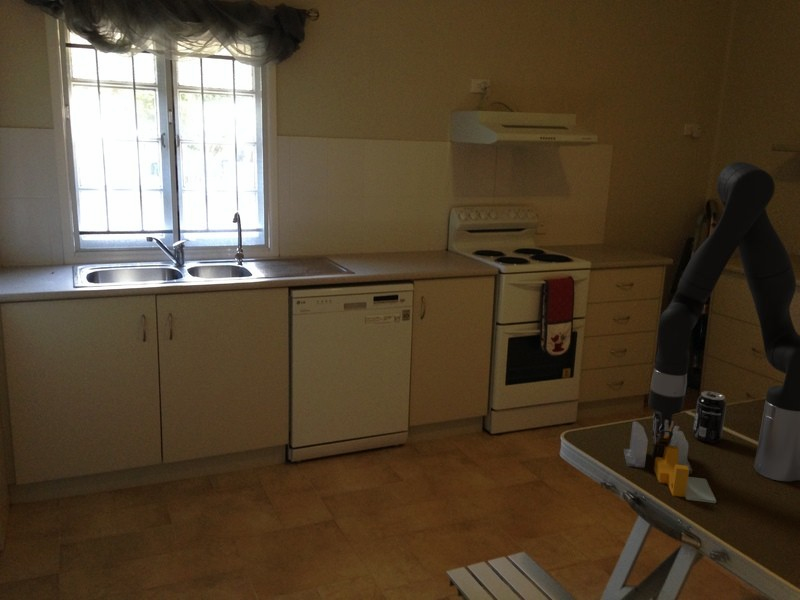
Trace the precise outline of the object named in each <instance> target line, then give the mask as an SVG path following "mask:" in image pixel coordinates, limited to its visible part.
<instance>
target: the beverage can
mask: <svg viewBox="0 0 800 600" xmlns="http://www.w3.org/2000/svg"><path fill="white" fill-rule="evenodd" d="M700 394H701V395H699V396H698V397H697V402H696V410H695V415H694V421H693V430H692V435H693V436H694V437H695V438H696V439H697V440H699V441H701V442H703V443H708V444H710V443H711V444H712V443H717V442H718V441H720V440H721V439H722V435H723V430H724V423H725V419H726V418H725V417H726V412H727V411H726V410H727V401H726V400H725V399H726V396H725V394H722V393H719V392H717V391H710V390H709V391H707V390H706V391H701V393H700Z"/></svg>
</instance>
